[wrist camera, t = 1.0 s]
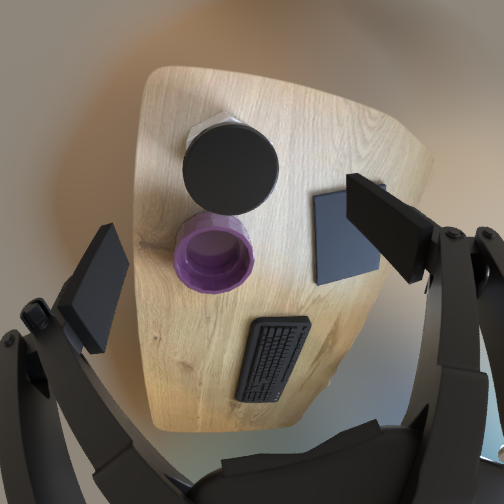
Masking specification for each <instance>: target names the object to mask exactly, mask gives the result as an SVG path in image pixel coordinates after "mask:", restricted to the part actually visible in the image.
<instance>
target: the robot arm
mask: <svg viewBox="0 0 504 504" xmlns="http://www.w3.org/2000/svg"><path fill="white" fill-rule="evenodd" d="M346 218H347V219H348V220H349V221H350V222H351V223H352V224H353V225H354V226H355V227H356V228H357V229H358V230H359V231H360V232H361V233H362V234H363V235H364V236H365V237H366V238H367V239H368V240H369V241H370V242H371V243H372V244H373V245H374V247H375V248H376V249H377V250H378V251H379V252H380V253H381V254H382V255H383V256H384V257H385V258H386V259H387V260H388V261H389V263H390V264H391V265H392V266H393V267H394V268H395V269H396V270H397V271H398V272H399V274H400V275H401V276H402V277H403V278H404V279H405V280H406V281H407V283H409V284H412V283H415V282H418V281H420V280H422V278H423V274H424V270H425V269H426V270H427V271H428V272H429V273H430V275H429V278H428V282H427V285H426V289H425V294H426V293H427V301H426V311H425V321H424V329H423V336H422V343H421V349H420V355H419V361H418V366H417V372H416V376H415V381H414V385H413V390H412V394H411V398H410V402H409V406H408V409H407V412H406V414H405V416H404V419H403V421H402V423H401V425H400V426H397V425H385V426H379V424H378V422H377V420H376V419H374V420H372V421H369V422H367V423H364V424H361V425H359V426H356V427H353V428H351V429H348V430H345V431H342V432H340V433H338V434H337V435H335V436H334V437H332V438H330V439H329V440H327V441H325V442H324V443H322V444H320V445H318V446H317V447H315V448H313V449H311V450H309V451H307V452H305V453H298V454H255V455H249V456H243V457H237V458H231V459H223V460H221V462H222V468H219V469H217V470H215V471H213V472H211V473H209V474H207V475H206V476H204V477H203V478H201V479H200V480H199V481H198V482H196V483H195V484H193V483H192V482H191V481H190V480H189V479H187V478H186V477H185V476H184V475H182V474H181V473H179V472H178V471H177V470H176V469H175V468H174V467H173V466H172V465H171V464H170V463H169V462H168V461H167V460H166V459H165V458H164V457H163V456H162V455H161V454H160V453H159V452H158V451H157V450H156V449H155V448H154V447H153V446H152V445H151V444H150V442H149V441H148V440H147V439H146V438H145V437H144V436H143V435H142V434H141V432H140V431H139V430H138V429H137V428H136V427H135V425H134V424H133V423H132V422H131V421H130V419H129V418H128V417H127V416H126V414H125V413H124V412H123V411H122V409H121V408H120V407H119V405H118V404H117V403H116V402H115V400H114V399H113V397H112V396H111V395H110V393H109V392H108V391H107V389H106V388H105V386H104V385H103V384H102V382H101V381H100V379H99V378H98V376H97V375H96V373H95V372H94V370H93V369H92V367H91V366H90V364H89V363H88V361H87V359H86V358H85V357H84V355H83V354H82V353H81V352H82V348H83V346H84V347H85V348H86V349H87V351H88V352H89V353H90V354H99V353H104V352H105V349H106V345H107V341H108V336H109V333H110V329H111V325H112V321H113V317H114V314H115V310H116V306H117V303H118V299H119V296H120V292H121V289H122V286H123V282H124V279H125V276H126V273H127V270H128V267H129V262H128V260H127V257H126V255H125V252H124V250H123V247H122V245H121V243H120V240H119V238H118V235H117V232H116V230H115V227H114V225H113V223H110V224H107V225H103V226H101V227H100V229H99V230H98V232H97V233H96V235H95V237H94V238H93V240H92V242H91V243H90V245H89V247H88V248H87V250H86V252H85V253H84V255H83V257H82V259H81V261H80V262H79V264H78V266H77V268H76V270H75V271H74V273H73V275H72V276H71V277H70V278H69V279H68V280H67V281H66V282H65V283H64V285H63V287H62V289H61V292H60V293H59V295H58V298H57V299H56V301H55V303H54V305H53V307H52V309H51V310H50V308H49V307H48V305H47V304H46V302H45V301H44V299H42V298H36V299H34V300H32V301H30V302H29V303H28V304H27V305H26V306H25V307H24V308H23V309H22V311H21V314H20V318H21V320H22V321H23V322H24V324H25V325H26V327H27V328H28V329H29V330H30V332H31V333H30V334H28V335H26V336H23V337H22V336H21V334H20V333H19V332H18V331H17V330H11V331H9V332H8V333H6V334H5V335H4V336H3V337H2V339H1V341H0V468H1V474H2V479H3V484H4V489H5V494H6V498H7V502H8V504H86V502H85V499H84V497H83V494H82V492H81V489H80V486H79V484H78V481H77V478H76V475H75V472H74V469H73V467H72V463H71V460H70V457H69V453H68V450H67V446H66V442H65V439H64V435H63V431H62V426H61V422H60V417H59V413H58V408H57V402H58V404H59V406H60V408H61V410H62V412H63V414H64V416H65V418H66V420H67V422H68V424H69V426H70V428H71V430H72V432H73V433H74V435H75V437H76V439H77V441H78V442H79V444H80V446H81V447H82V449H83V451H84V452H85V454H86V456H87V457H88V459H89V460H90V462H91V463H92V465H93V467H94V469H95V473H94V474H92V476H93V480H94V481H95V483H96V485H97V486H98V488H99V489H100V490H101V492H102V494H103V495H104V496H105V497H106V499H107V500H108V502H109V503H110V504H504V465H503V464H500V463H497V462H495V461H492V460H489V459H486V458H483V457H481V456H480V455H481V451H482V445H483V438H484V432H485V424H486V415H487V404H488V388H489V380H488V375H487V374H486V373H483V372H480V338H479V326H480V329H481V332H482V336H483V339H484V343H485V347H486V351H487V354H488V358H489V362H490V367H491V372H492V377H493V382H494V387H495V393H496V398H497V406H498V412H499V418H500V424H501V428H502V432H503V436H504V241H503V240H502V238H501V237H500V235H499V234H498V233H497V232H496V231H494V230H493V229H491V228H489V227H479V228H477V231H476V235H475V237H466V235H465V234H464V233H463V232H462V231H461V230H459V229H457V228H454V227H443V228H442V227H440V226H439V225H437V224H436V223H435V222H434V221H432V220H431V219H430V218H428V217H426V215H424V214H423V213H421V212H420V211H419V210H417V209H416V208H414V207H412V206H409V205H407V204H405V203H403V202H402V201H400V200H399V199H397V198H396V197H394V196H393V195H391V194H390V193H388V192H387V191H385V190H384V189H382V188H381V187H379V186H378V185H376V184H375V183H373V182H372V181H370V180H368V179H367V178H365V177H364V176H362V175H360V174H359V173H353V174H346ZM488 274H489V276H488ZM56 400H57V402H56ZM498 453H499V454H498V457H499V460H500V461H501V462H504V445H503V446H502V447H501V448H500V450H499V452H498Z"/></svg>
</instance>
